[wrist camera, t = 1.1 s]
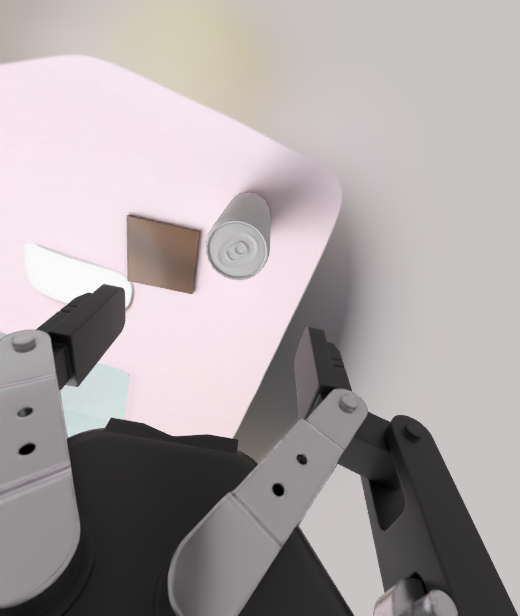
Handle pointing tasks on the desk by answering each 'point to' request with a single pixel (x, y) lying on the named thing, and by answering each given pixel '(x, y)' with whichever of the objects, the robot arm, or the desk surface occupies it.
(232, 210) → the beverage can
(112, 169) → the desk surface
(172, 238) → the coaster
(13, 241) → the desk surface
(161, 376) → the desk surface
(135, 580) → the robot arm
